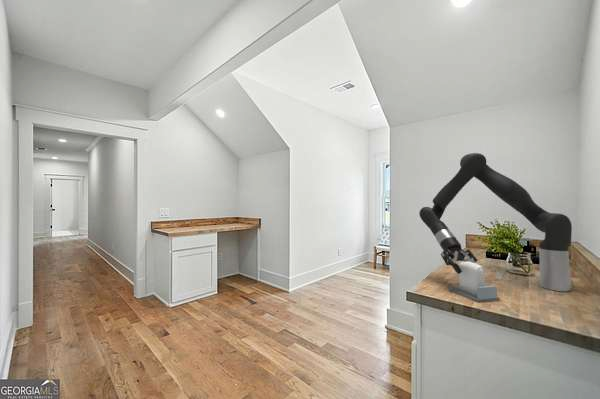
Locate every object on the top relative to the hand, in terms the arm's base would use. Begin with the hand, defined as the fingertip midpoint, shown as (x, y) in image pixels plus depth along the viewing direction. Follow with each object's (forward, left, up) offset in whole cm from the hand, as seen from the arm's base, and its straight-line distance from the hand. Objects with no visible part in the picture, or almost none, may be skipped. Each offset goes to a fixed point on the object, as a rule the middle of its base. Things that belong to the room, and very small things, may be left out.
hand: (468, 272), depth 106 cm
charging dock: (0, +2, -9) cm, 9 cm away
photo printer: (0, +1, -8) cm, 8 cm away
